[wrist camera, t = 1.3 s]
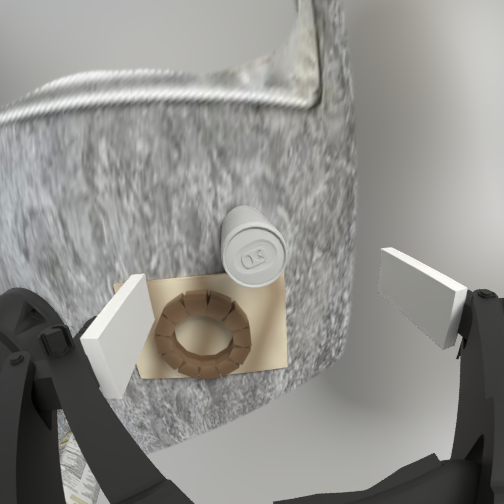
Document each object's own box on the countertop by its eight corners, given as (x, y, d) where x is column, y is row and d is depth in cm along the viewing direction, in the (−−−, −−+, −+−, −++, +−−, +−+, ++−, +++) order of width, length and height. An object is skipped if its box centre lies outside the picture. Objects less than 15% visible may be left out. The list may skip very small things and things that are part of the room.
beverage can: (272, 237, 32) (299, 273, 21) (232, 255, 33) (237, 300, 21) (255, 197, 31) (274, 212, 20) (214, 216, 31) (208, 241, 20)
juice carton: (81, 421, 38) (48, 502, 20) (116, 448, 40) (95, 529, 22) (62, 430, 38) (31, 501, 20) (95, 455, 41) (73, 527, 22)
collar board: (142, 376, 36) (137, 389, 33) (114, 283, 32) (106, 293, 29) (286, 364, 37) (290, 378, 34) (282, 266, 33) (288, 275, 31)
